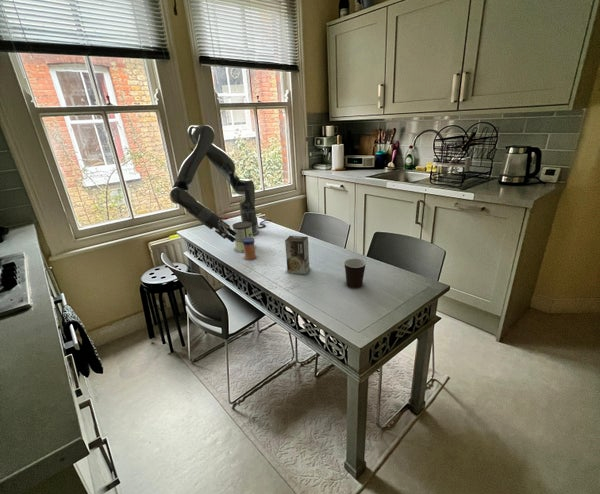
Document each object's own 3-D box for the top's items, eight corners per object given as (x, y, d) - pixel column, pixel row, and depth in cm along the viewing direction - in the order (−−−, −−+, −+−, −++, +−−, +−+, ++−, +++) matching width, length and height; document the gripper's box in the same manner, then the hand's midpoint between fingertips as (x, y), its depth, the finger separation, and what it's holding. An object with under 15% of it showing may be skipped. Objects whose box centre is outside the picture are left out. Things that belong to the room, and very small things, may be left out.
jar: (249, 254, 166) (247, 238, 162) (257, 256, 164) (255, 239, 160) (243, 258, 162) (240, 241, 158) (251, 260, 160) (249, 243, 156)
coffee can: (238, 245, 180) (235, 221, 174) (256, 245, 179) (253, 221, 173) (233, 252, 170) (229, 227, 165) (252, 252, 169) (249, 227, 164)
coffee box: (309, 268, 148) (308, 236, 142) (305, 274, 143) (304, 241, 136) (291, 266, 151) (289, 235, 144) (286, 272, 145) (284, 240, 139)
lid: (247, 240, 163) (247, 236, 162) (256, 241, 161) (256, 238, 160) (240, 244, 159) (240, 240, 158) (250, 245, 156) (249, 242, 155)
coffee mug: (360, 291, 127) (360, 269, 123) (340, 286, 132) (340, 264, 127) (370, 279, 136) (371, 258, 132) (351, 275, 140) (352, 254, 136)
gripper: (210, 216, 144) (239, 237, 150) (214, 207, 157) (240, 227, 163) (200, 228, 146) (229, 248, 152) (205, 219, 159) (231, 238, 165)
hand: (234, 237), depth 158 cm, fingers open, 8 cm apart
